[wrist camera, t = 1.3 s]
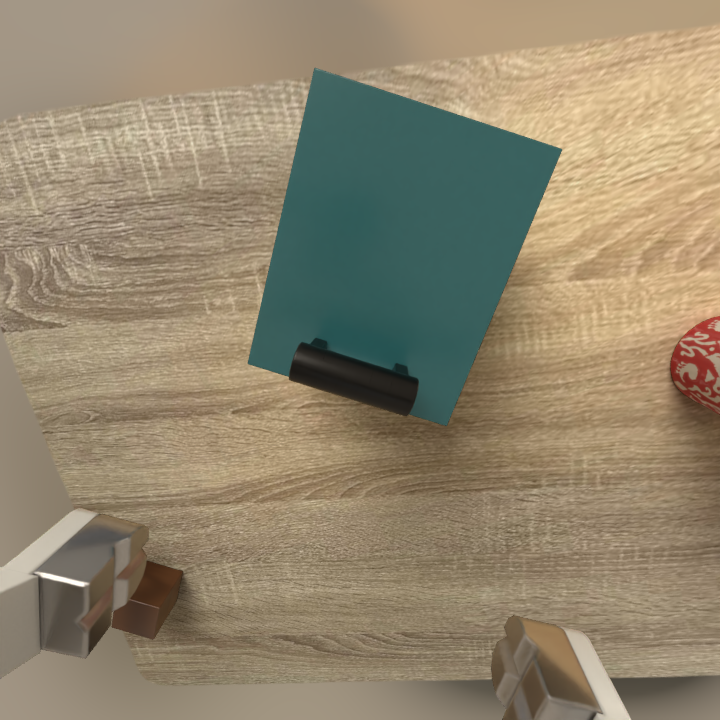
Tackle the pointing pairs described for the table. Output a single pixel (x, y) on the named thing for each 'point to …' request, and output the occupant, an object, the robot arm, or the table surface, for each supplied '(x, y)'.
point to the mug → (699, 364)
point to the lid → (394, 247)
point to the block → (149, 601)
